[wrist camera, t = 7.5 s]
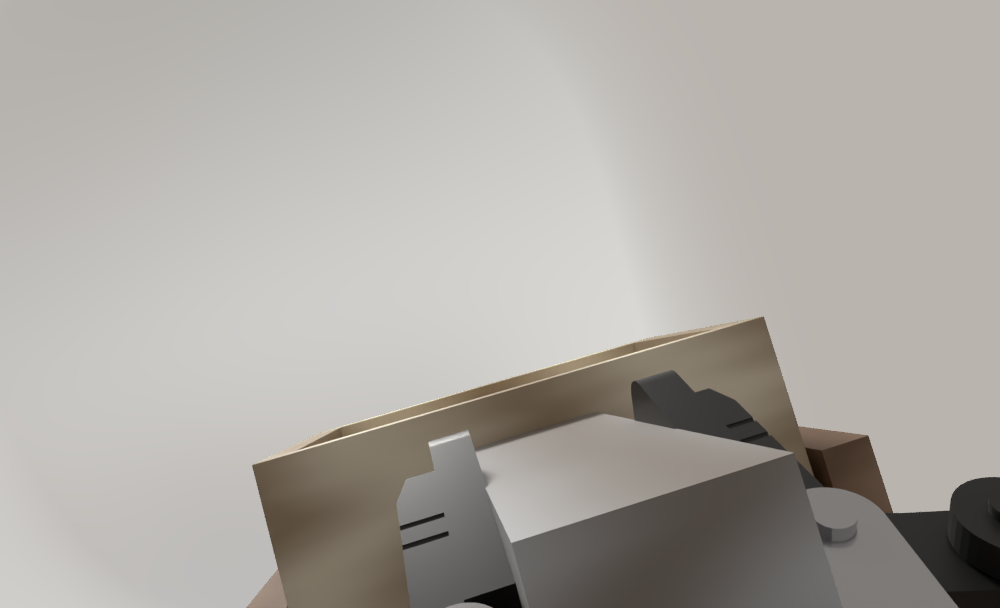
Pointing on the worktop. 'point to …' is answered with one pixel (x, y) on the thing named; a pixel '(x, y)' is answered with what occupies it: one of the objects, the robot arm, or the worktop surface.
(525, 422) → the tray
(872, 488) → the stand
